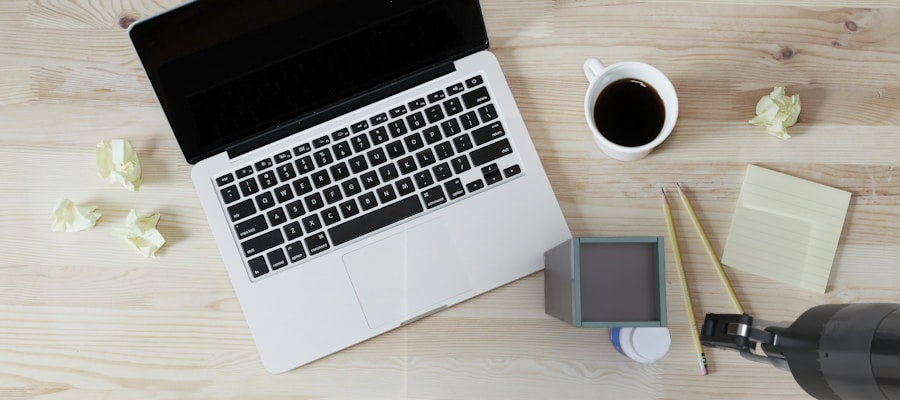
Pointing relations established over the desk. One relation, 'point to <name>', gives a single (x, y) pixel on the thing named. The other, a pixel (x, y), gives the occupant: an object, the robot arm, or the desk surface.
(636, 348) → the pill bottle
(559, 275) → the stand
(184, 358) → the desk surface
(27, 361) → the desk surface
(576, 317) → the socket
